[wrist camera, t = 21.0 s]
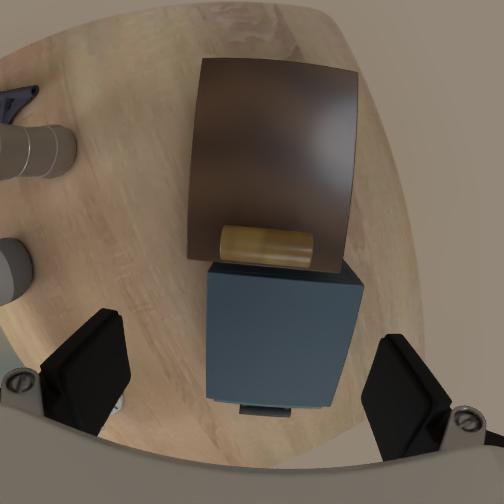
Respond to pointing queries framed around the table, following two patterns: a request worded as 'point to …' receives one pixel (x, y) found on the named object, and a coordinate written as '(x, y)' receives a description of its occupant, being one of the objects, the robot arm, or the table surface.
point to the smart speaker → (13, 270)
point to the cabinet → (278, 333)
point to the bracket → (21, 99)
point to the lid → (272, 164)
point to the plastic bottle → (35, 151)
